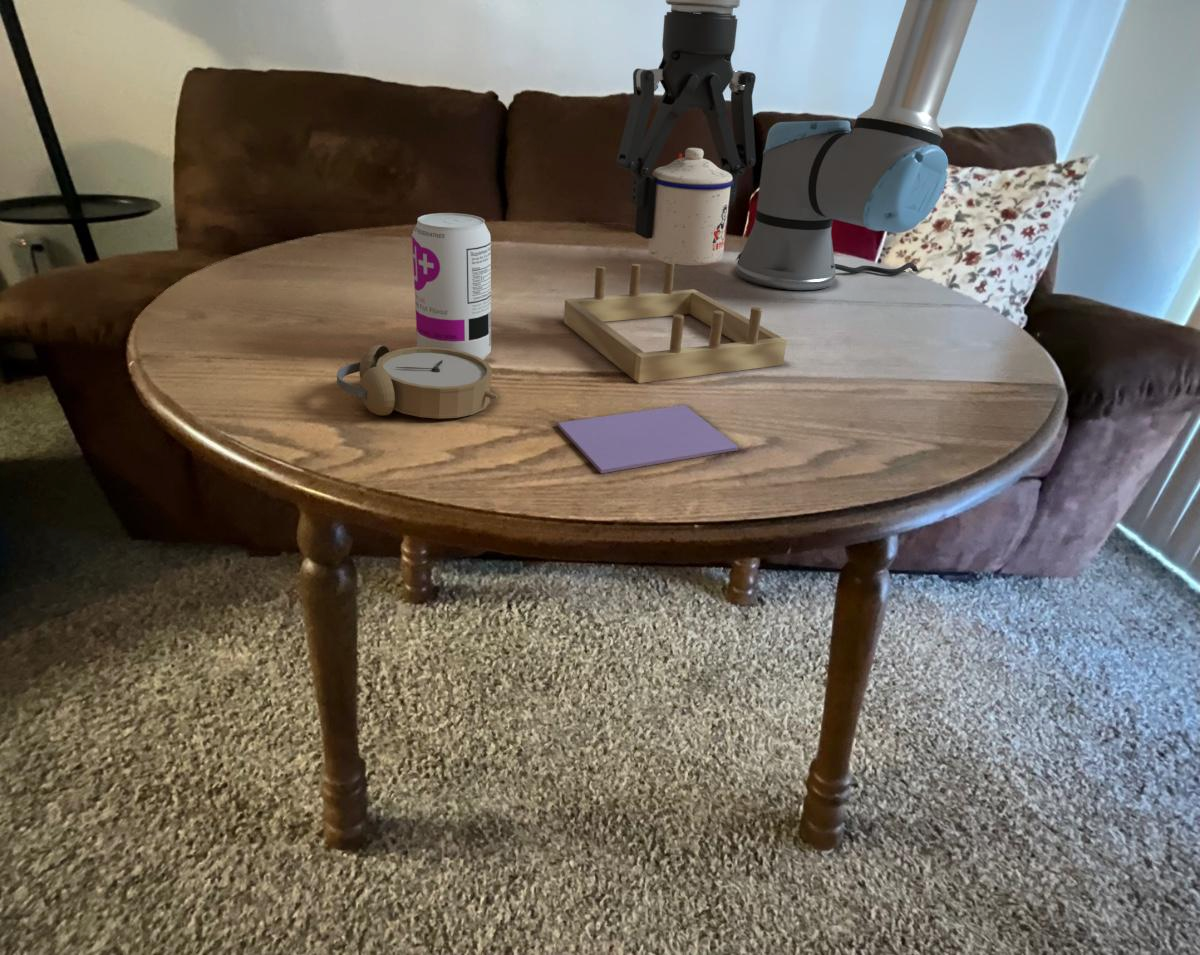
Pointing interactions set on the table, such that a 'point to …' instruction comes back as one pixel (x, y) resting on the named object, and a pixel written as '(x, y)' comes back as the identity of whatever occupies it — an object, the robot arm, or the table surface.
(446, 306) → the supplement can
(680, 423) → the mat
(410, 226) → the table surface
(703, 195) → the teacup with lid
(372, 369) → the alarm clock
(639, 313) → the rack
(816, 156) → the robot arm
